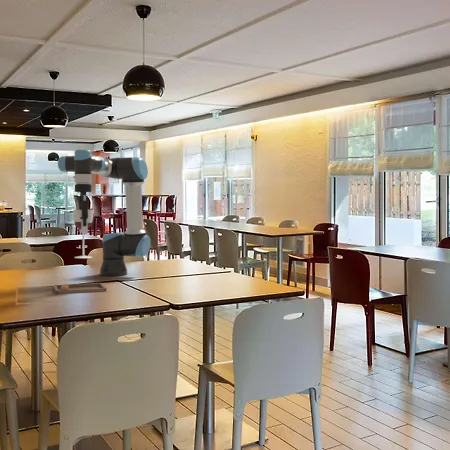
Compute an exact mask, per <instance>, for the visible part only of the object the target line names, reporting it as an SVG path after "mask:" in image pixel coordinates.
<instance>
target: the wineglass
mask: <svg viewBox="0 0 450 450" xmlns="http://www.w3.org/2000/svg"><path fill="white" fill-rule="evenodd" d="M72 215H73V222H74V225H75V226H76V227H77V229H78V230H79V229H81V219H80V217H82V210H80V209H79V208H78V209H73V210H72ZM87 219H88V229H89V228H90V227H91V226H92V223H93V220H94V209H89V208H88V218H87ZM85 250H86V249H85V233H82V255H79V256H74V259H91V258H93V256H89V255H85Z"/></svg>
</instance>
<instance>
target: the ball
mask: <svg viewBox="0 0 450 450" xmlns="http://www.w3.org/2000/svg"><path fill="white" fill-rule="evenodd" d="M61 285H62V286H61V290H68V289H69V287H68V285H69V284H65V283H64V284H63V283H62V284H61Z"/></svg>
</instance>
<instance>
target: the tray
mask: <svg viewBox="0 0 450 450" xmlns="http://www.w3.org/2000/svg"><path fill="white" fill-rule="evenodd" d="M62 285H63V284H54V285H53V289H54V292H55V295H63V294H81V293H83V294H84V293H100V292H101V293H102V292H104V293H105V292H107V287H106V286H105V285H104V284H103V283H102V282H96V283H95V282H93V283H91V282H90V283H72V284H67V285H68V287H69V289H68V290H61V286H62Z"/></svg>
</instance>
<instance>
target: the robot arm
mask: <svg viewBox="0 0 450 450" xmlns="http://www.w3.org/2000/svg"><path fill="white" fill-rule="evenodd" d="M57 167H58V169H59V171H60V172H64V173H65V172H66V173H70V172H71V173H74V176H73V175H72V177H73V179H74V183H75V184H74V192H75V193H79V196H78V197H77V198H78V209H80V210H82V217H80V219H81V229H79V228H78V230H79V233H81V234H83V233H84V234H88V233H89V232H88V231H89V228H88V219H87V218H88V209H89V208H88V207H89V205H88V204H89V203H88V202H89V201H88V200H89V196H88V195H87V193H91V192H92V184H91V183H92V174H93V175H98V176H99V177H103V178H104V177H105V178H109V179H115V180H122V181H121V182H122V184H123V185H124V186H125V188H124V189H125V208H126V231H124V232H114V233H107V234H104V235H103V236H102V262H101V265H100V268H99V276H103V277H119V276H126V275H128V268H127V266H126V261H125V257H136V258H139V257H142V258H143V257H145V256H147V255H148V254H149V251H150V248H151V237H150V235H149V236H148V235H147V231H146V230H145V229H144V226H143V225H144V224H143V223H144V220H143V218H144V217H143V199H142V198H143V197H142V196H143V193H142V185H143V184H144V183H145V179H147V178H148V175H149V168H148V165H147V163H146V161H145V160H144V158H143V157H135V156H133V157H132V156H131V157H128V156H127V157H113V158H112V157H111V158H104V157H102V156H99V155H93V154H92V152H91V150H90V149H75V151H74V155H65V156H60V157H58V160H57Z"/></svg>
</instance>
